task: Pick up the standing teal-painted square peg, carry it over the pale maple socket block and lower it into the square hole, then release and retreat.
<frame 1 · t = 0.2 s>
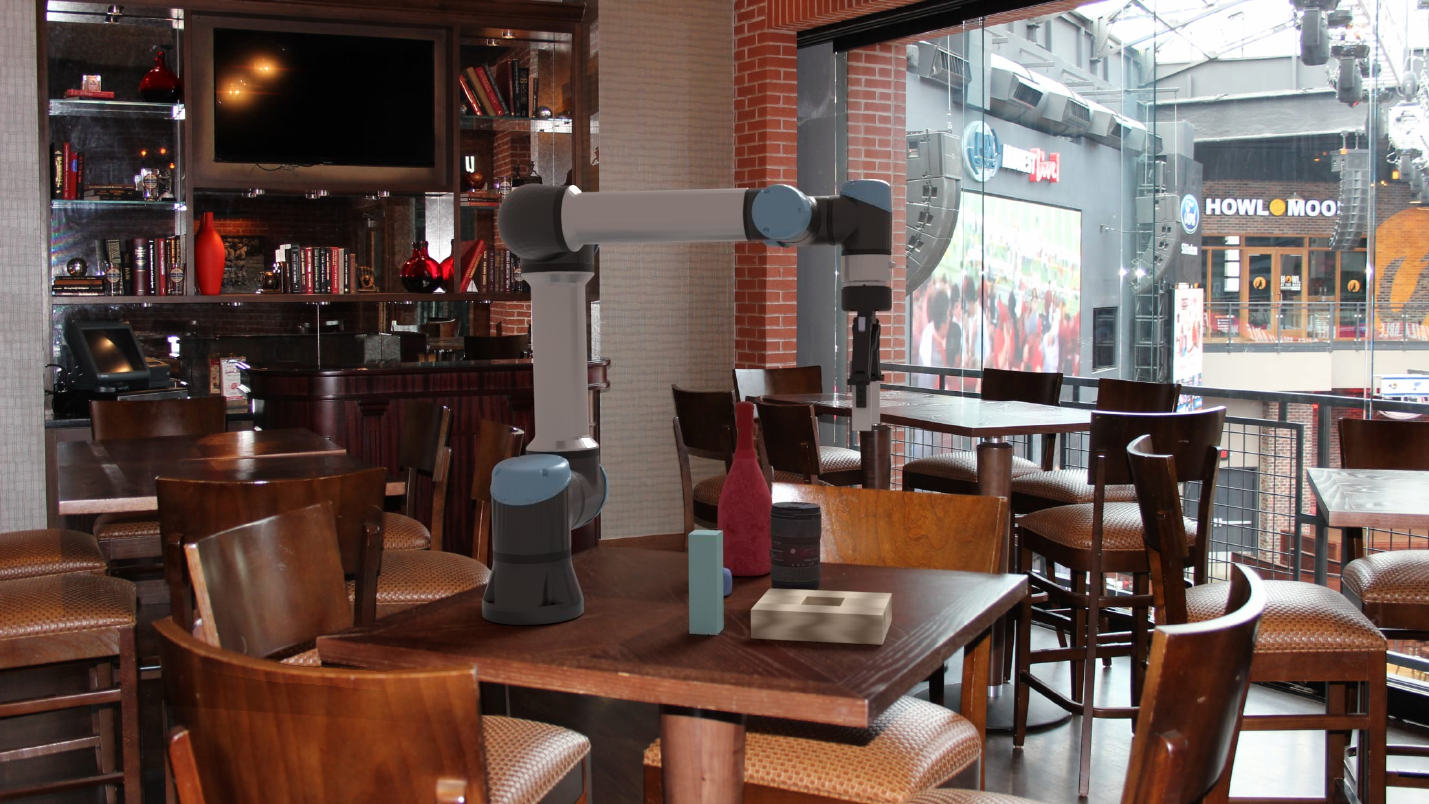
hand: (866, 427, 184), 28 cm above the table, fingers open, 13 cm apart
peg: (706, 630, 173), on the table
socket block: (823, 629, 173), on the table
decorative dice: (717, 595, 197), on the table
camera lens: (796, 599, 193), on the table
wine bottle: (746, 573, 215), on the table
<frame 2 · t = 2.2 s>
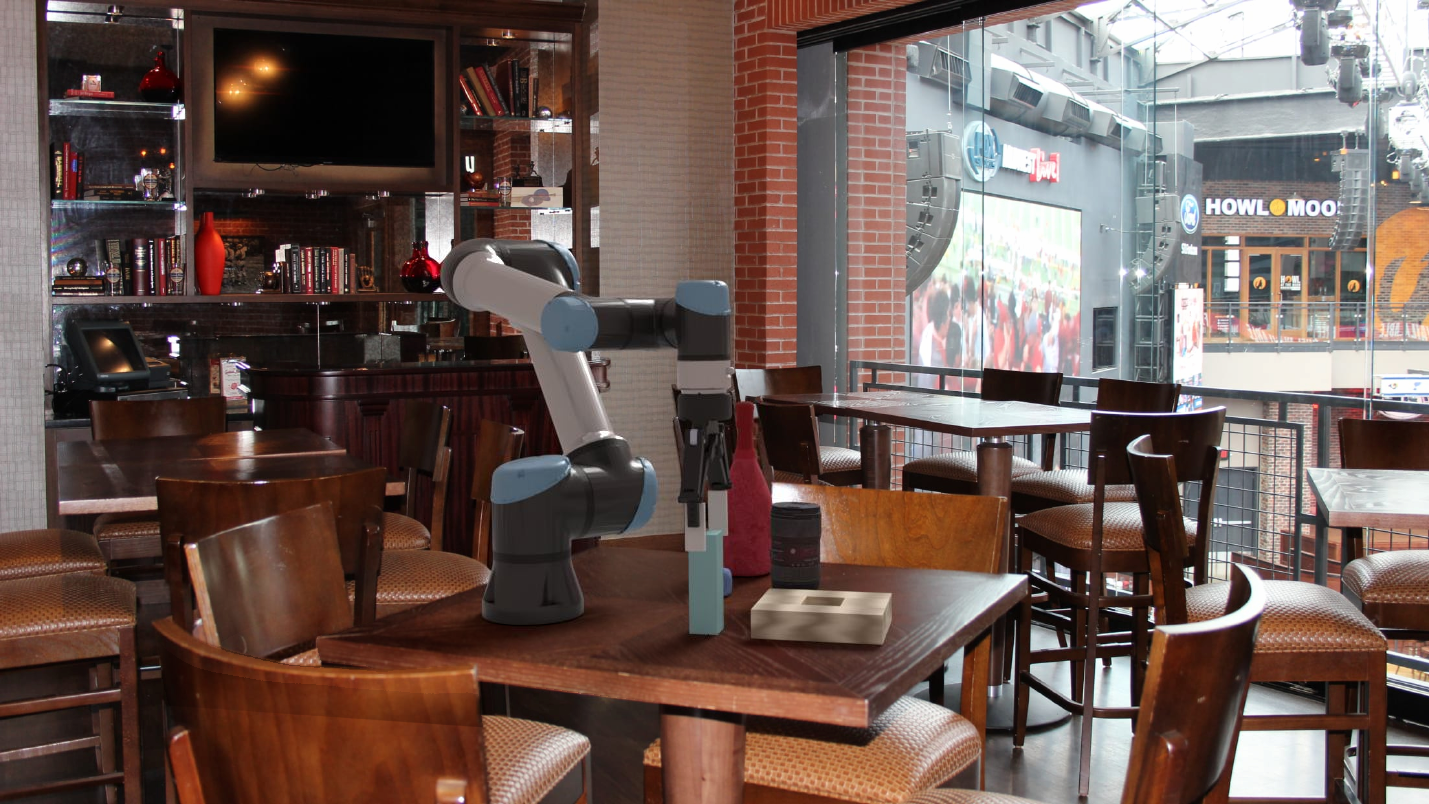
hand: (707, 543, 172), 13 cm above the table, fingers open, 13 cm apart
nothing on the table moved.
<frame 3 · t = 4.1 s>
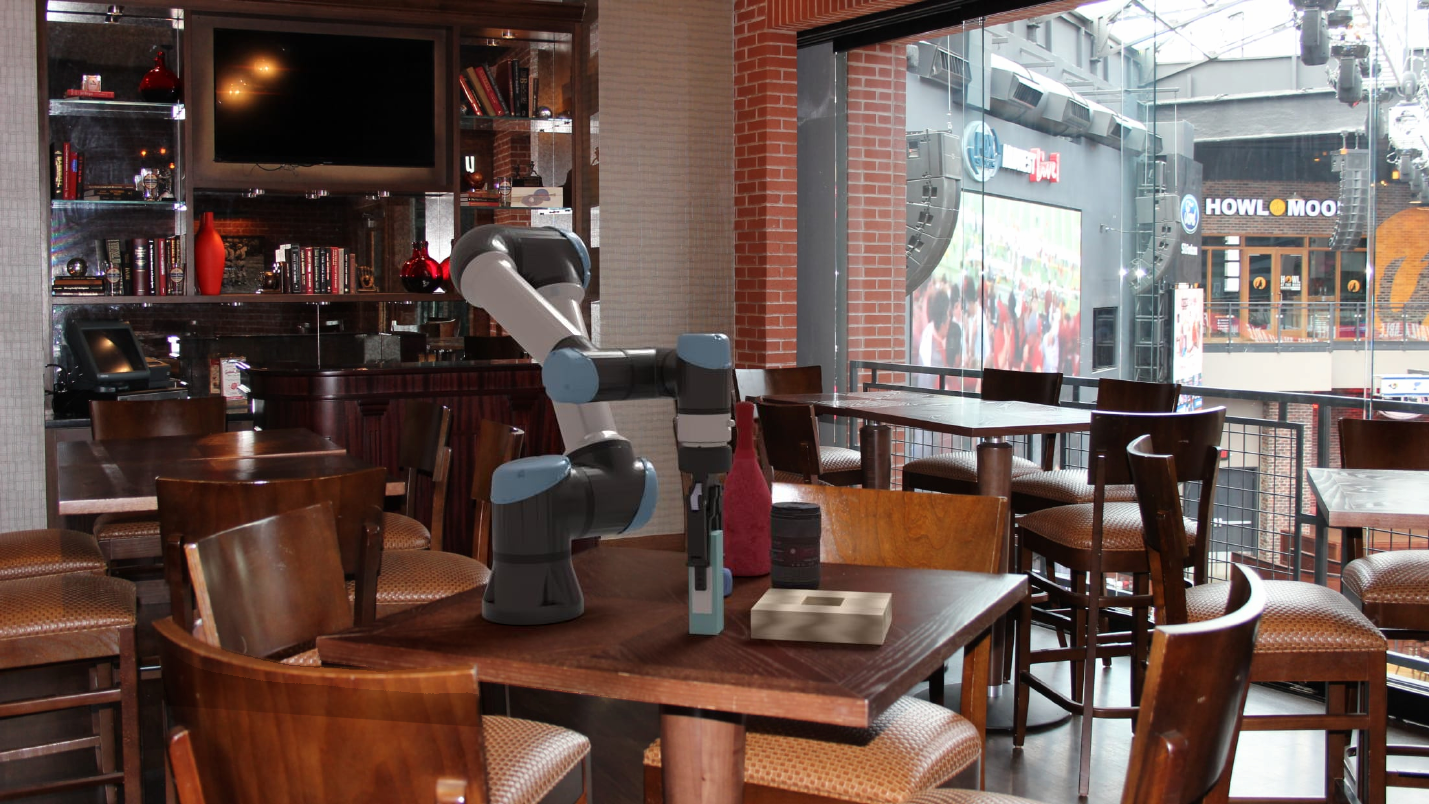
hand: (706, 608, 173), 3 cm above the table, fingers closed on peg, 4 cm apart
peg: (706, 630, 173), on the table, touching gripper
everything else where it was.
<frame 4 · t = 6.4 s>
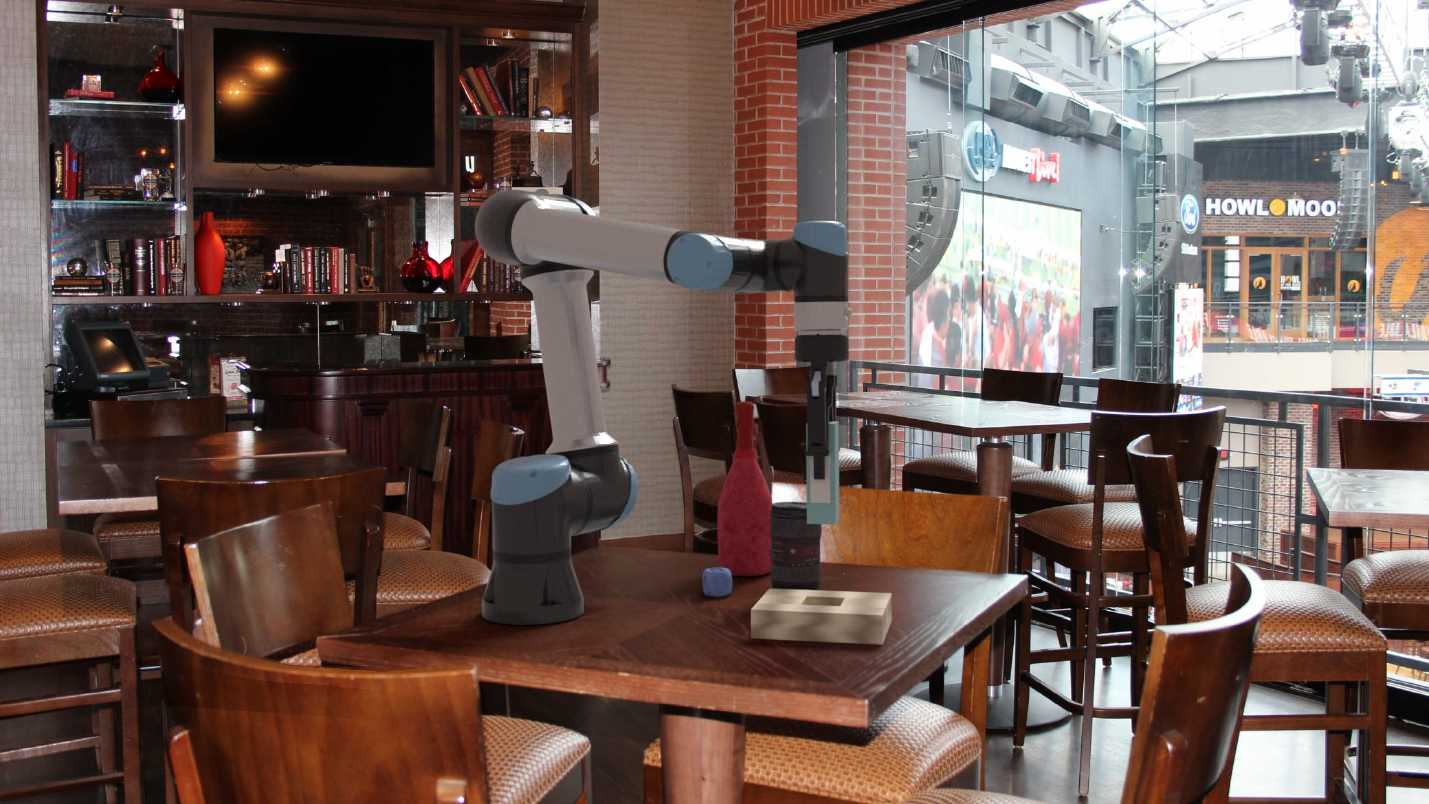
hand: (822, 499, 172), 18 cm above the table, fingers closed on peg, 4 cm apart
peg: (823, 521, 172), point 15 cm above the table, touching gripper
everything else where it was.
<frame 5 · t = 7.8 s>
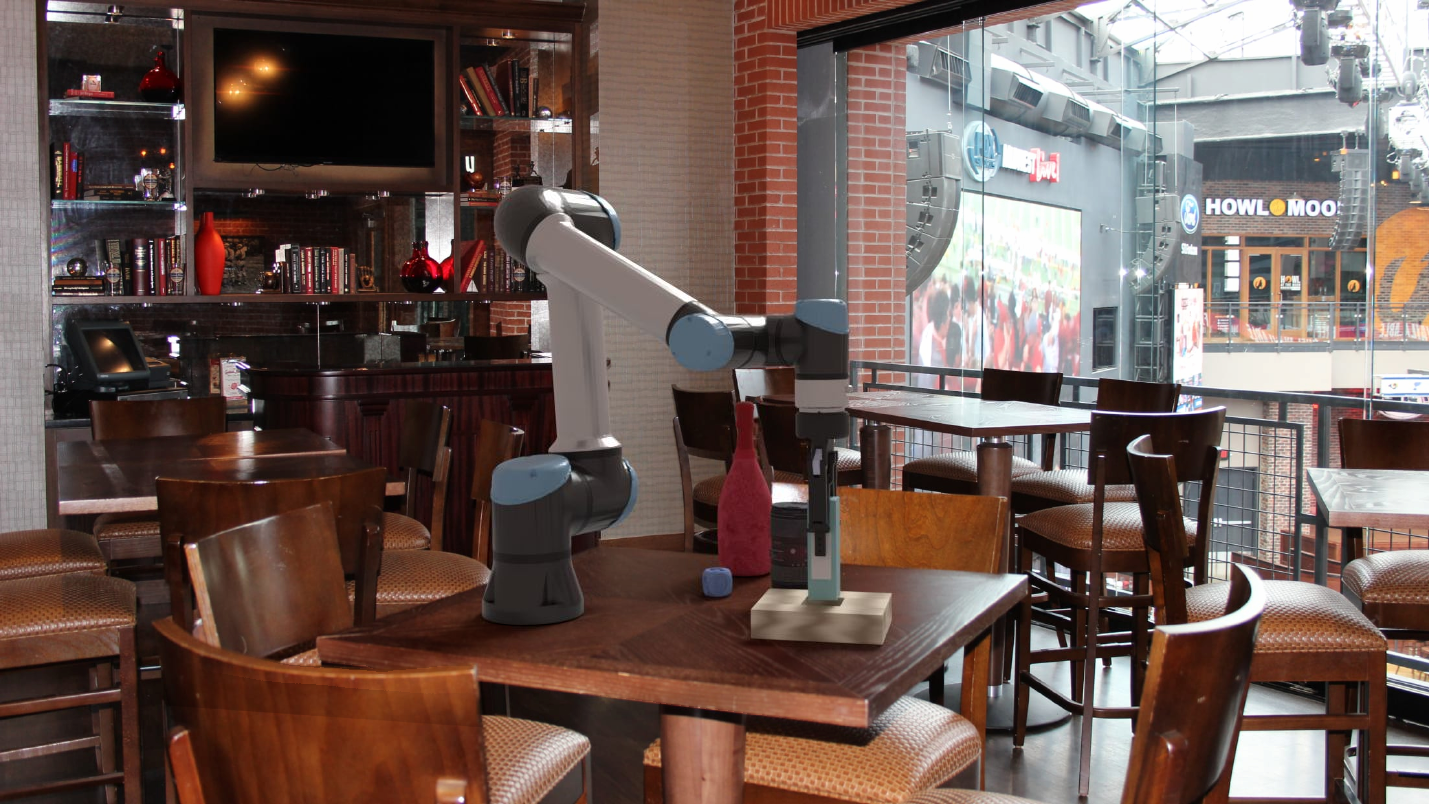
hand: (823, 575, 173), 8 cm above the table, fingers closed on peg, 4 cm apart
peg: (824, 597, 173), point 5 cm above the table, touching gripper
everything else where it was.
when the fingers open (6 cm above the table, at t = 8.8 s): peg drops 3 cm, resting in socket block.
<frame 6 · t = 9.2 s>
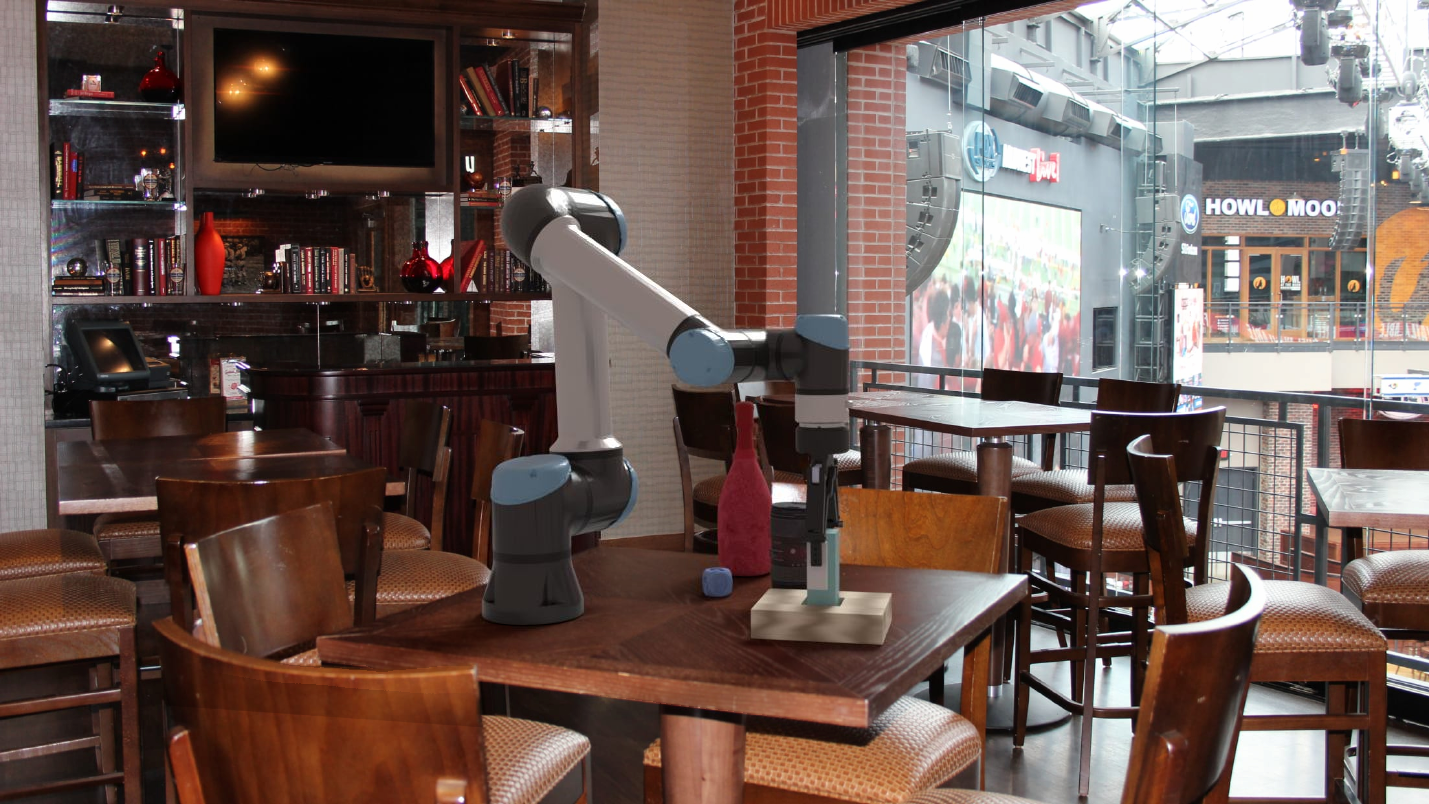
hand: (823, 580, 173), 7 cm above the table, fingers open, 10 cm apart
peg: (823, 629, 173), resting in socket block
everything else where it was.
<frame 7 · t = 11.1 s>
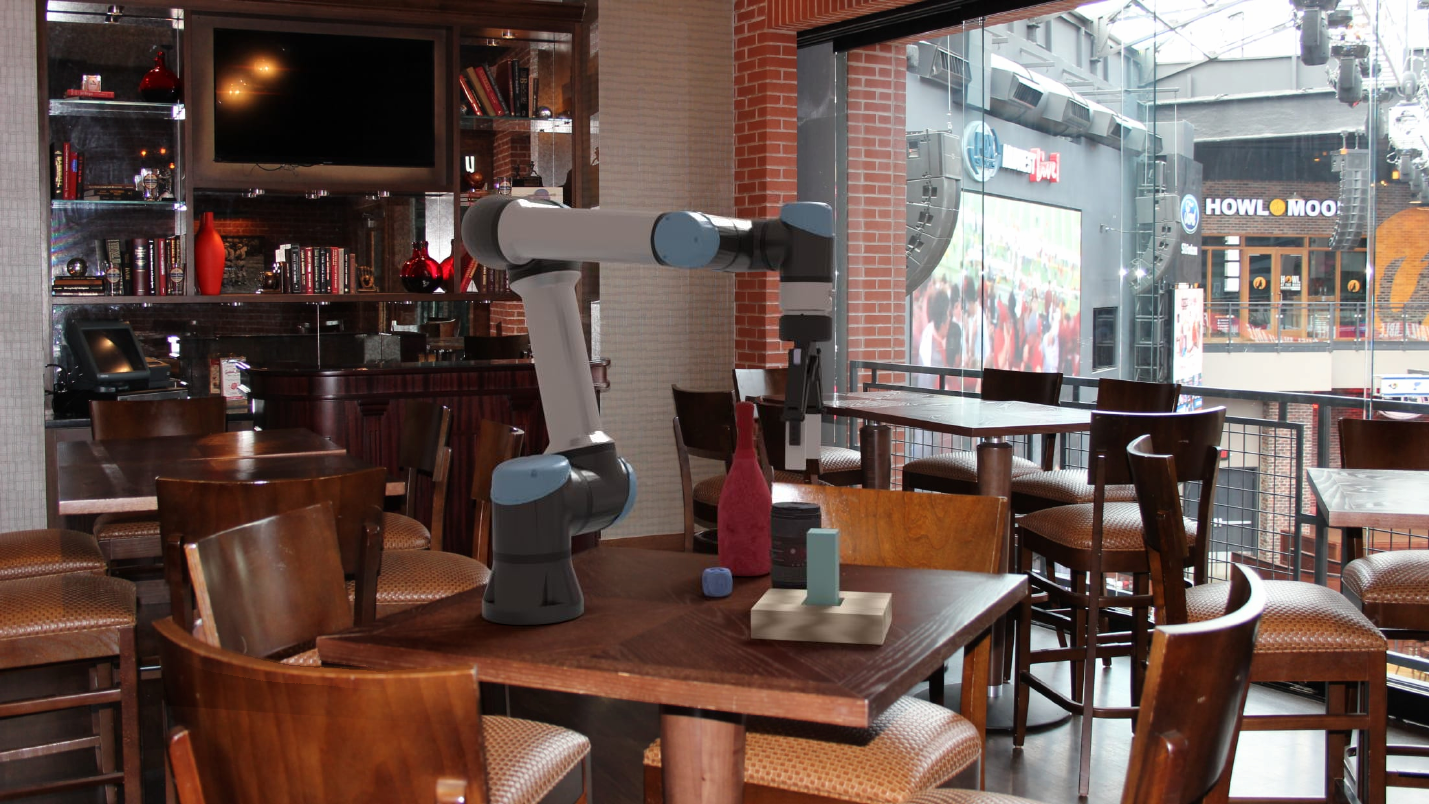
hand: (803, 463, 174), 23 cm above the table, fingers open, 13 cm apart
nothing on the table moved.
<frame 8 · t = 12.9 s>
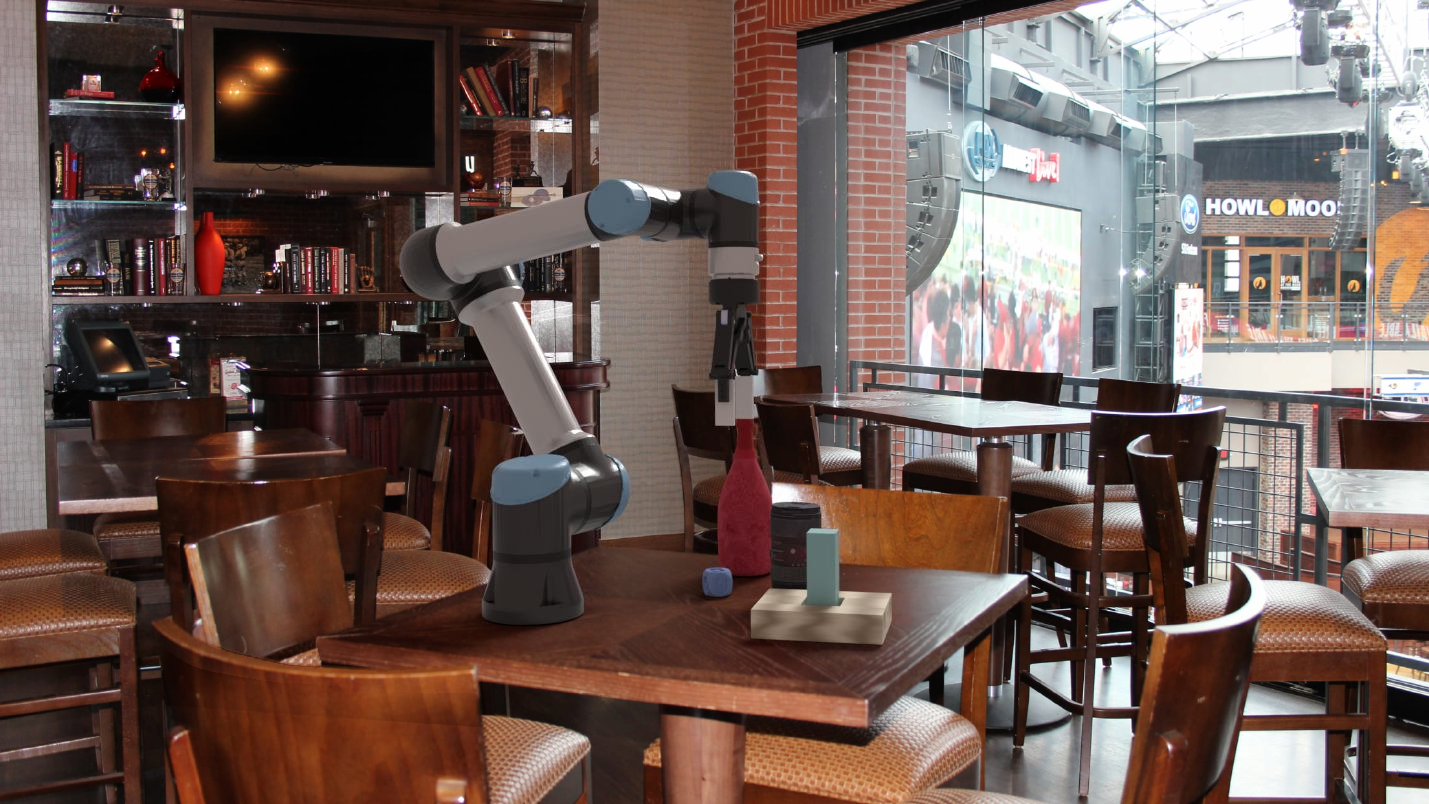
hand: (735, 422, 182), 29 cm above the table, fingers open, 13 cm apart
nothing on the table moved.
at the end: peg 0.0 cm off-centre on the socket block, point 0.0 cm above the socket block's base; peg tilted 0°; the gripper is holding nothing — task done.
